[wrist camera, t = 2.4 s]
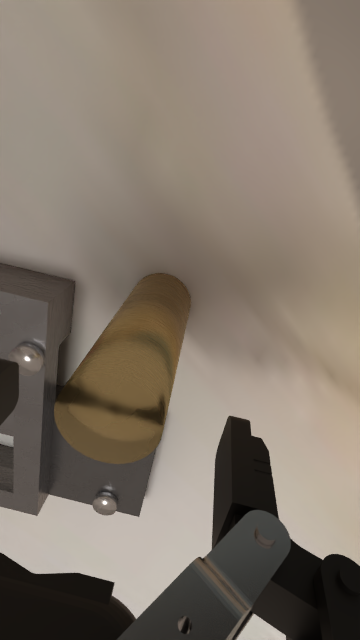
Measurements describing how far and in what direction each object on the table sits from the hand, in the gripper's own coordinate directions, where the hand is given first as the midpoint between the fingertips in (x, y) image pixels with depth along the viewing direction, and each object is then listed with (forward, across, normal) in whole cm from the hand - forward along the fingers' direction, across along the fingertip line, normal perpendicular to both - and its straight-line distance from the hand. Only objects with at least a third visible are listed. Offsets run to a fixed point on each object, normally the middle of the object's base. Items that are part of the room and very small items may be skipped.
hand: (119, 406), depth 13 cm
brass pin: (+11, 0, 0) cm, 11 cm away
